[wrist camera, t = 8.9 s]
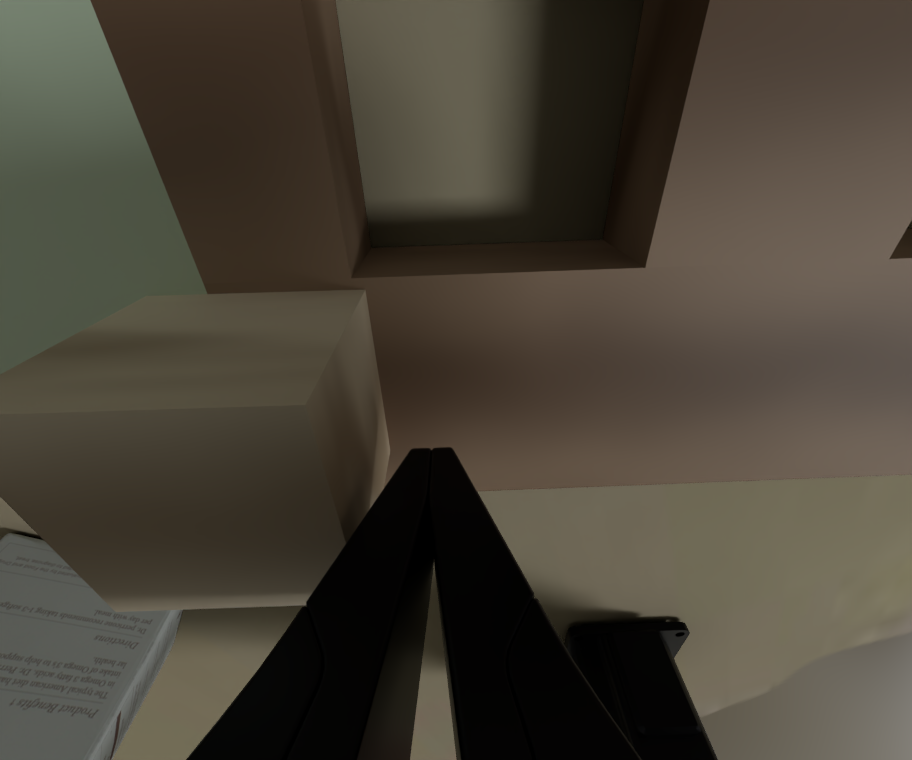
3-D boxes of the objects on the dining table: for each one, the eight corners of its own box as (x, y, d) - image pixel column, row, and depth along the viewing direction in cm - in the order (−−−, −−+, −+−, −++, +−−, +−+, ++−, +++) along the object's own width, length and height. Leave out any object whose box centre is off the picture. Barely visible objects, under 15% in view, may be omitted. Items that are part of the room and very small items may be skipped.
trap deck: (992, 415, 13) (1094, 467, 11) (142, 447, 13) (85, 505, 11) (1562, -195, 6) (2110, -357, 4) (-233, -138, 6) (-577, -277, 4)
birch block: (390, 450, 10) (363, 603, 7) (223, 455, 10) (114, 612, 7) (365, 289, 8) (305, 404, 4) (146, 296, 8) (-80, 417, 4)
